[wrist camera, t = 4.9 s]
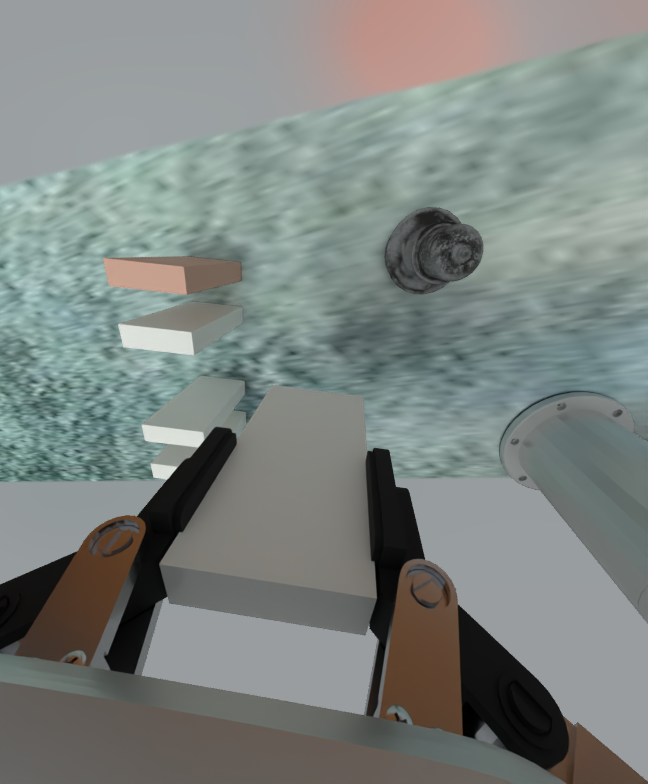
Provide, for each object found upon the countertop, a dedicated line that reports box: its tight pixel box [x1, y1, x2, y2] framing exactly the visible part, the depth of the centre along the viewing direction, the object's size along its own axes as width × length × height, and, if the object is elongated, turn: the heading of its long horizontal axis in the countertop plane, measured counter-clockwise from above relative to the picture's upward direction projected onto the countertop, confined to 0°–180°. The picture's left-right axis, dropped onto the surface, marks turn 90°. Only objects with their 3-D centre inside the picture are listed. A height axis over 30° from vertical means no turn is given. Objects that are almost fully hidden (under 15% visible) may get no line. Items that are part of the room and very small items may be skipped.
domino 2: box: [142, 376, 245, 447], centre depth 27 cm, size 5×2×10 cm, turn 84°
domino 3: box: [151, 410, 246, 479], centre depth 29 cm, size 5×2×10 cm, turn 84°
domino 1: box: [118, 301, 243, 355], centre depth 24 cm, size 5×2×10 cm, turn 84°
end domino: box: [103, 256, 241, 295], centre depth 22 cm, size 5×2×10 cm, turn 84°
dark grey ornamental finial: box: [385, 207, 483, 294], centre depth 19 cm, size 6×6×12 cm
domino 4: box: [159, 385, 377, 635], centre depth 11 cm, size 5×2×10 cm, turn 85°
